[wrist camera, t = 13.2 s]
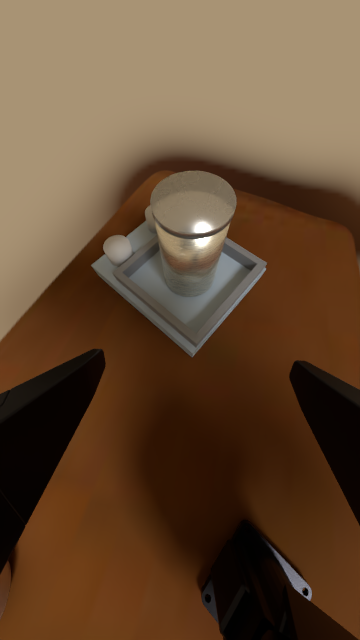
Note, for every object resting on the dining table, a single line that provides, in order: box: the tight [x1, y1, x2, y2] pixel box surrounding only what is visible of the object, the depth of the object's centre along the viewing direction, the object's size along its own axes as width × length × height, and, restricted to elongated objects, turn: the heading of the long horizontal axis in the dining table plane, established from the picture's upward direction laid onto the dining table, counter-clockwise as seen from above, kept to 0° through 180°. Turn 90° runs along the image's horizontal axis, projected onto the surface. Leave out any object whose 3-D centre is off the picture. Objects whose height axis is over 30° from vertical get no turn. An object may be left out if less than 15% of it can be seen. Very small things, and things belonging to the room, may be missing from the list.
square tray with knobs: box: [91, 205, 267, 357], centre depth 23 cm, size 17×14×4 cm
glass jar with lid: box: [150, 171, 236, 297], centre depth 18 cm, size 8×6×10 cm
